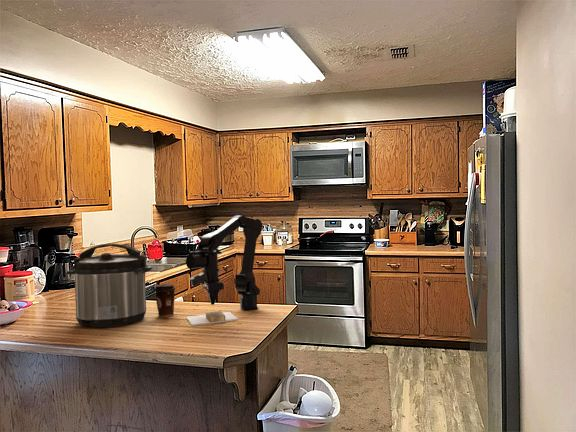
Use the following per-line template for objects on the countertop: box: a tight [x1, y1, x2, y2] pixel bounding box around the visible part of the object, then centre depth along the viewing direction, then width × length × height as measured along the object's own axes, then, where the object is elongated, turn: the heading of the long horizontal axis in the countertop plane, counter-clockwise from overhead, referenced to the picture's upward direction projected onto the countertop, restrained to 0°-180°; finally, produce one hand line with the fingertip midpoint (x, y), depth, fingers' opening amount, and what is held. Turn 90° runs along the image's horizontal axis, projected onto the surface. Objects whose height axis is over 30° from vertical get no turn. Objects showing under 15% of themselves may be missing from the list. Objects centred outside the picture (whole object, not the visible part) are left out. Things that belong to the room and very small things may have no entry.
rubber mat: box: [185, 311, 239, 327], centre depth 192 cm, size 18×14×1 cm
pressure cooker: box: [66, 243, 153, 328], centre depth 196 cm, size 30×28×32 cm
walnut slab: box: [205, 310, 225, 322], centre depth 189 cm, size 6×2×8 cm
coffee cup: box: [153, 283, 176, 318], centre depth 202 cm, size 9×8×13 cm
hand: (212, 304), depth 193 cm, fingers closed
